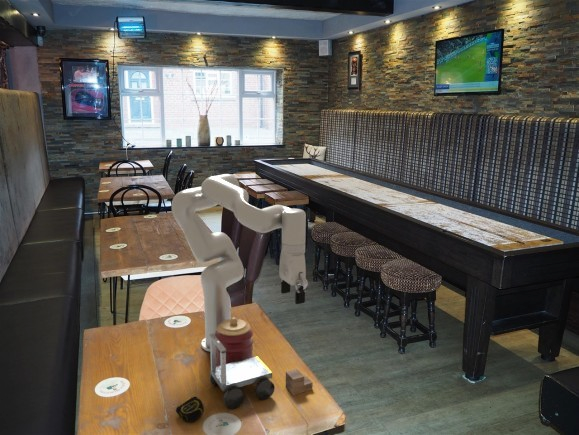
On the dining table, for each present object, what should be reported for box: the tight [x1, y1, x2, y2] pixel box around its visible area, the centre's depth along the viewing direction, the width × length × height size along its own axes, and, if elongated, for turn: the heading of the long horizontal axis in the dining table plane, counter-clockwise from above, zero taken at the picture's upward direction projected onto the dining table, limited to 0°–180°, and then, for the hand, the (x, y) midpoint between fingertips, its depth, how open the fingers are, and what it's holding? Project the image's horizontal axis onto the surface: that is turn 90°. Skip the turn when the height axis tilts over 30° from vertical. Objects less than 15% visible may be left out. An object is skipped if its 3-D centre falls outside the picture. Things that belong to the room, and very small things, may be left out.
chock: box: [285, 368, 313, 396], centre depth 152 cm, size 5×7×6 cm
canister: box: [215, 316, 254, 367], centre depth 164 cm, size 13×13×18 cm
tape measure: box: [175, 396, 205, 423], centre depth 137 cm, size 7×7×4 cm
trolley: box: [208, 334, 275, 410], centre depth 148 cm, size 14×16×19 cm
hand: (292, 297), depth 157 cm, fingers open, 9 cm apart
